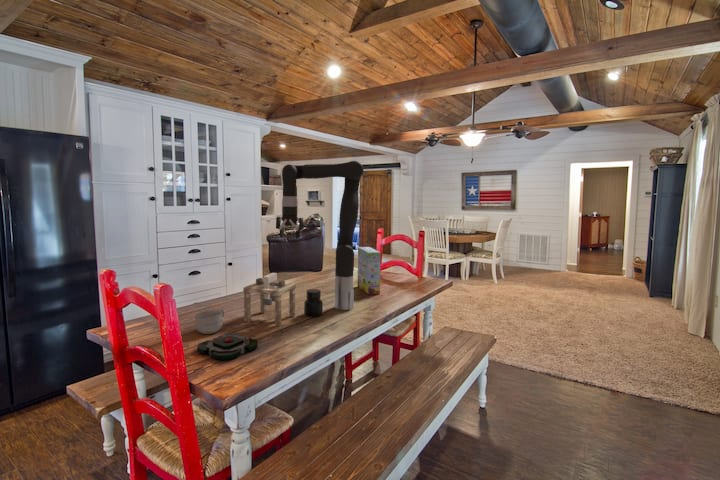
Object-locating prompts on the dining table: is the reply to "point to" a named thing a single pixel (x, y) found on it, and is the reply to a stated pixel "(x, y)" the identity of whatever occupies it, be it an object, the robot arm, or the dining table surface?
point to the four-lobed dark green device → (227, 346)
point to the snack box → (369, 270)
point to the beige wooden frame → (259, 288)
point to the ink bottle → (313, 303)
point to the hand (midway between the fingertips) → (289, 237)
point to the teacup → (209, 321)
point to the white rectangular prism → (267, 280)
